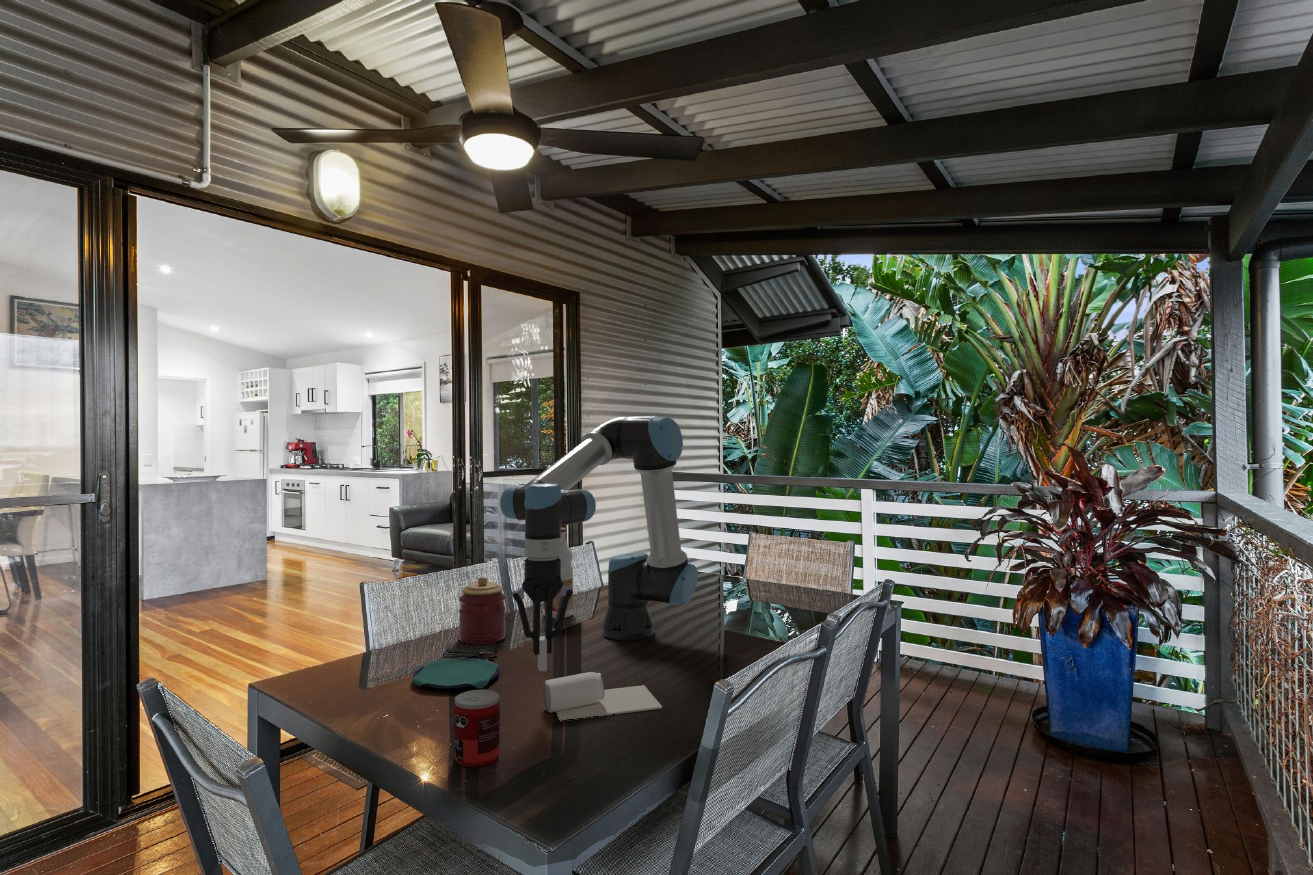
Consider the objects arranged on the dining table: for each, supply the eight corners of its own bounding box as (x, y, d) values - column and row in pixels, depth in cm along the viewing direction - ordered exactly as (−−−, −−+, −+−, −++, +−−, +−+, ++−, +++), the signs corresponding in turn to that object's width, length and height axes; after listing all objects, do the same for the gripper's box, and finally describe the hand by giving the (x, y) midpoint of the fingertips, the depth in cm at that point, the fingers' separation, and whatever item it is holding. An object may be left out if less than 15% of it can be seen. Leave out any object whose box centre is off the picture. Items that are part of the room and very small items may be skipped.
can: (544, 713, 145) (597, 701, 150) (552, 712, 140) (607, 700, 145) (540, 681, 148) (593, 671, 152) (547, 679, 142) (602, 669, 147)
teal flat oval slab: (400, 694, 153) (400, 684, 153) (439, 653, 183) (439, 645, 183) (489, 695, 154) (489, 685, 154) (514, 654, 184) (514, 646, 184)
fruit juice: (570, 619, 215) (570, 530, 215) (540, 618, 216) (540, 530, 216) (574, 611, 225) (575, 526, 225) (546, 610, 225) (547, 526, 225)
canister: (482, 648, 186) (483, 583, 186) (448, 641, 192) (448, 578, 192) (515, 636, 197) (515, 575, 197) (481, 629, 203) (482, 570, 203)
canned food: (458, 748, 127) (459, 689, 127) (502, 747, 127) (502, 688, 127) (449, 768, 119) (450, 705, 119) (496, 767, 120) (496, 704, 120)
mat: (549, 697, 151) (549, 695, 151) (644, 686, 158) (644, 685, 158) (559, 721, 139) (559, 719, 139) (662, 708, 146) (662, 706, 146)
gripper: (513, 562, 139) (512, 678, 139) (576, 558, 143) (576, 671, 143) (509, 555, 146) (508, 666, 146) (570, 552, 150) (569, 660, 150)
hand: (542, 668), depth 144 cm, fingers closed
